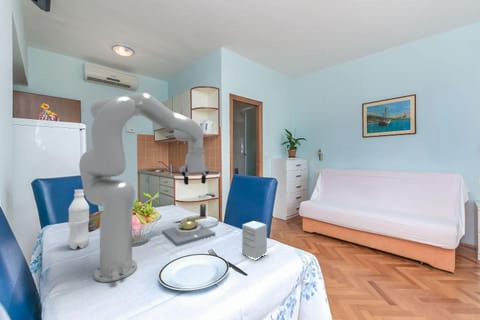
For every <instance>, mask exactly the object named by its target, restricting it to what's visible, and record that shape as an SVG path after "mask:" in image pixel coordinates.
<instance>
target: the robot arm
mask: <svg viewBox="0 0 480 320" xmlns="http://www.w3.org/2000/svg"><path fill="white" fill-rule="evenodd" d="M90 114H91V116H92V118H93V121H92V124H91V130H90V131H91V132H90V134H91V137H90V138H91V145H92V149H89V150H86V151H85V152H84V153H82V155H81V156H80V158H79V164H78V167H79V173H80V178H81V183H82V189H83V193H84V197H85V198H86V201H88V202H89V203H90V204H93V205H95V206H100V207H103V209H102V211H103V212H102V215H101V218H100V228H99V267H98V268H97V269H95V271H94V274H93V278H94V280H95V281H98V282H101V283H102V282H103V283H107V282H108V283H109V282H110V283H111V282H115V281H118V280H122V279H125V278H126V277H128V276H130V275H132V274H133V273H134V272H135V271H137V267H138V264H137V261H135V260H134V259H133V211H134V210H133V209H134V203H135V199H136V190H135V188H134V186H133V185H132V184H131V183H130V182H128V181H125V180H124V179H113V177H118V176H120V175H123V173H125V170H126V169H127V161H126V154H125V149H124V143H123V130H124V127H125V125H127V123H128V122H129V121H130V120H131V119H132V118H133V117H137V116H141V117H144V118H145V119H147V120H148V121H151V122H152V123H154V124H155V125H157V126H158V127H160V128H163V129H165V130H167V129H168V130H173V136H174V137H175V139H176V140H178V141H179V142H180V141H181V142H188V143H187V144H188V148H187V149H188V151H187V154H186V156H185V161H184V165H183V166H180V167H179V168H178V169H179V172H180V174H181V175H182V177H183V184H184V185H189V175H190V174H201V184H203V185H204V184H206V182H207V180H206V179H207V176H208V174H209V173H210V171H211V168H210V167H209V166H208V165H206V161H205V155H204V153H205V152H206V150H205V149H204V130H203V129H202V127H201V126H200V125H199V124H198V123H197V122H196V121H195V120H193V119H192V118H190V117H189V116H186V115H184V114H180V113H178V112H176V111H172V110H170V108H168V107H167V106H165V104H163V103H161V102H160V100H158V99H156V98H155V97H154V96H153V95H151V94H150V93H148V92H136V93H135V92H134V93H131V94H126V95H116V96H110V97H107V98H101V99H97V100H95V101H93V102H92V104H91V105H90Z"/></svg>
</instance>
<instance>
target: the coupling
mask: <svg viewBox="0 0 480 320" xmlns="http://www.w3.org/2000/svg"><path fill="white" fill-rule="evenodd" d="M206 214H207V204H204V203H201V204H199V215H196V216H190V217H186V218H185V219H182V220H181V224H178V226H179V228H182V230H185V231H189V230H194V229H195V225H198V223H199V222H197V221H199V220H205V219H207V215H206Z"/></svg>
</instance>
